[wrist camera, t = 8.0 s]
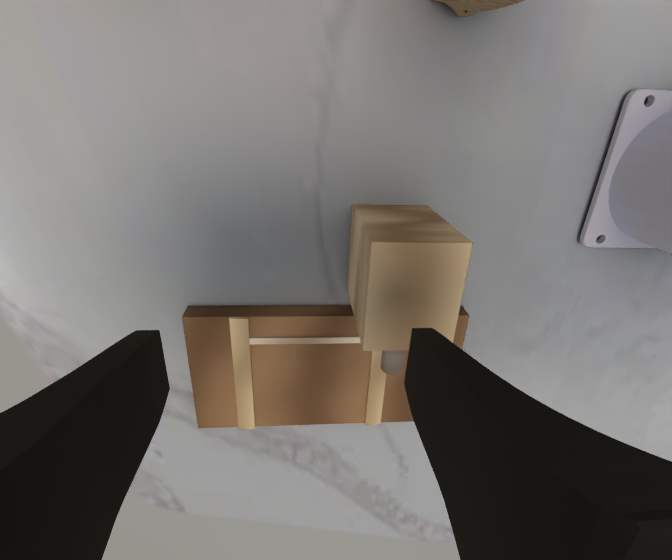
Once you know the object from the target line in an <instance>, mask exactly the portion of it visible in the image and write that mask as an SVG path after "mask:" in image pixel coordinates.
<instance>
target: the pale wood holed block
mask: <svg viewBox="0 0 672 560" xmlns="http://www.w3.org/2000/svg"><path fill="white" fill-rule="evenodd" d="M472 244H473V243H472V242H471V241H469V240H468V239H467V238H466V237H465V236H463V235H462V234H461V233H460V232H458V231H457V230H456V229H455V228H454V227H452V226H451V225H450V224H449V223H447V222H446V221H445V220H444V219H443V218H441V217H440V216H439V215H438V214H436V213H435V212H434V211H433V210H432V209H430V208H429V207H428V206H413V205H359V204H352V221H351V238H350V256H349V273H348V294H349V298H350V302H351V306H352V310H353V314H354V318H355V322H356V326H357V330H358V334H359V338H360V342H361V346H362V349H363V351H382V357H381V370H382V371H383V372H385V373H386V374H389V375H399V374H401V373H402V372H403V371H404V365H405V358H406V351H407V350H409V346H410V339H411V332H412V328H433V329H435V330H436V331H438V332H439V333H441V334H442V335H443V336H445V337H446V338H447V339H449V340H450V341H451V342H452V343H453V340H454V335H455V330H456V325H457V320H458V315H459V310H460V305H461V300H462V295H463V290H464V285H465V280H466V275H467V269H468V264H469V259H470V254H471V249H472Z"/></svg>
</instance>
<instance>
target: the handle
mask: <svg viewBox="0 0 672 560" xmlns="http://www.w3.org/2000/svg"><path fill="white" fill-rule="evenodd" d="M433 1H435V2H436V1H440V2H443V3H445V4H447V5H448V6H450V7H451V8H452V9H453V10H454V11H455V14H456V15H457V16H469V15H473V14H476V13H477V12H478V11H487V10H493V9H498V8H502V7H506V6H509V5H513V4H516V3H519V2H521V1H524V0H433Z"/></svg>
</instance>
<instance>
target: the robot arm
mask: <svg viewBox="0 0 672 560" xmlns="http://www.w3.org/2000/svg"><path fill="white" fill-rule="evenodd" d="M646 97H648V102H647V103H646V105H644V100H645V98H646ZM598 236H600V238H599V240H597V241H596V239H597V237H598ZM580 243H581V244H582V245H584V246H586V247H599V248H658V249H660V250H662V251H665V252H667V253H670V254H672V90H655V89H635V90H633V91H631V92H630V93H629V94H628V95H627V96H626V98H625V100H624V103H623V106H622V109H621V113H620V116H619V119H618V122H617V125H616V128H615V131H614V134H613V137H612V140H611V143H610V146H609V149H608V153H607V156H606V159H605V162H604V165H603V168H602V171H601V174H600V177H599V180H598V183H597V186H596V189H595V193H594V196H593V199H592V202H591V205H590V208H589V211H588V214H587V217H586V220H585V223H584V226H583V229H582V232H581V236H580ZM404 385H405V390H406V394H407V399H408V403H409V406H410V410H411V414H412V417H413V419H414V422H415V425H416V427H417V430H418V433H419V435H420V438H421V440H422V443H423V446H424V448H425V451H426V453H427V456H428V458H429V461H430V463H431V466H432V468H433V471H434V474H435V476H436V479H437V481H438V484H439V487H440V490H441V492H442V495H443V498H444V501H445V505H446V508H447V512H448V515H449V519H450V522H451V526H452V529H453V533H454V537H455V540H456V544H457V548H458V552H459V555H460V559H461V560H672V462H671V461H668V460H665V459H663V458H660V457H657V456H655V455H652V454H650V453H647V452H645V451H642V450H640V449H637V448H635V447H632V446H630V445H628V444H625V443H623V442H620V441H618V440H616V439H613V438H611V437H609V436H606V435H604V434H602V433H600V432H598V431H595V430H593V429H591V428H589V427H587V426H585V425H583V424H581V423H579V422H577V421H575V420H573V419H570V418H568V417H567V416H565V415H563V414H561V413H559V412H557V411H555V410H553V409H551V408H550V407H548V406H546V405H544V404H543V403H541V402H539V401H537V400H535V399H534V398H532V397H530V396H528V395H527V394H525V393H524V392H522V391H520V390H519V389H517V388H515V387H514V386H512V385H511V384H509V383H508V382H506V381H505V380H503V379H502V378H500V377H499V376H497V375H496V374H494V373H493V372H492V371H490V370H489V369H487V368H486V367H484V366H483V365H482V364H480V363H479V362H478V361H476V360H475V359H474V358H472V357H471V356H470V355H468V354H467V353H466V352H464V351H463V350H462V349H460V348H459V347H458V346H456V345H455V344H454V343H452V342H451V341H450V340H449V339H447V338H446V337H445V336H443V335H442V334H441V333H439V332H438V331H436V330H435V329H433V328H412V332H411V339H410V346H409V353H408V359H407V366H406V373H405V380H404ZM169 389H170V388H169V382H168V377H167V371H166V365H165V360H164V354H163V348H162V343H161V337H160V332H159V330H137V331H135V332H133V333H131V334H129V335H128V336H126V337H124V338H123V339H121V340H120V341H118V342H117V343H115V344H114V345H112V346H111V347H109V348H108V349H106V350H105V351H103V352H102V353H100V354H98V355H97V356H95V357H94V358H92V359H91V360H89V361H88V362H86V363H85V364H83V365H82V366H80V367H79V368H77V369H76V370H74V371H72V372H71V373H69V374H68V375H66V376H64V377H63V378H61V379H59V380H58V381H56V382H54V383H53V384H51V385H49V386H48V387H46V388H45V389H43V390H41V391H39V392H38V393H36V394H34V395H33V396H31V397H29V398H28V399H26V400H24V401H22V402H21V403H19V404H17V405H15V406H13V407H11V408H10V409H8V410H6V411H4V412H2V413H0V560H101V559H102V557H103V554H104V551H105V548H106V545H107V542H108V539H109V537H110V534H111V531H112V528H113V525H114V522H115V520H116V517H117V515H118V512H119V510H120V507H121V505H122V502H123V500H124V498H125V496H126V494H127V492H128V489H129V487H130V485H131V483H132V481H133V479H134V476H135V474H136V472H137V470H138V468H139V466H140V464H141V461H142V459H143V457H144V455H145V453H146V451H147V448H148V446H149V444H150V442H151V440H152V437H153V435H154V433H155V431H156V429H157V426H158V424H159V422H160V419H161V416H162V413H163V409H164V406H165V403H166V399H167V396H168V392H169Z"/></svg>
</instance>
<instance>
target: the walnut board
mask: <svg viewBox="0 0 672 560" xmlns="http://www.w3.org/2000/svg"><path fill="white" fill-rule="evenodd" d="M468 319H469V315H468V313H467V312H466V311H465V310H464V308H463V307H462V306H461V305H460V310H459V315H458V320H457V325H456V330H455V335H454V340H453V343H454V344H455V345H456V346H458V347H459V348H460V349H462V346H463V342H464V337H465V332H466V328H467V323H468ZM182 320H183V327H184V334H185V340H186V347H187V354H188V361H189V368H190V375H191V381H192V388H193V395H194V402H195V409H196V416H197V423H198V428H217V427H239V429H255V426H279V425H310V424H341V423H365V425H380V423H381V422H402V421H414V419H413V417H412V414H411V410H410V406H409V403H408V399H407V394H406V390H405V385H404V380H405V373H406V366H407V359H408V353H409V350H407V351H406V358H405V365H404V371H403V372H402V373H401V374H399V375H389V374H386V373H385V372H383V371H382V370H381V357H382V351H363V349H362V346H361V342H360V338H359V334H358V330H357V326H356V322H355V318H354V314H353V310H352V306H188V307H187V309H186V311H185V313H184V315H183V316H182Z"/></svg>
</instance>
